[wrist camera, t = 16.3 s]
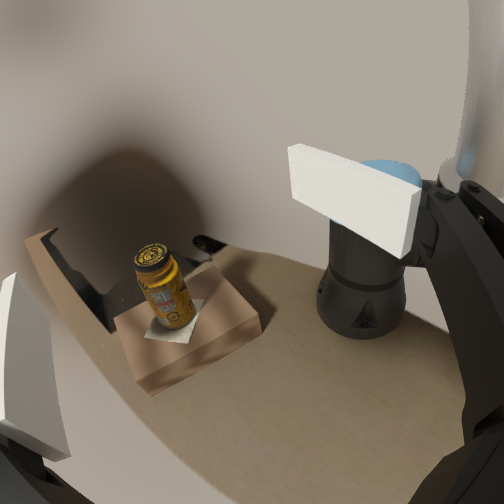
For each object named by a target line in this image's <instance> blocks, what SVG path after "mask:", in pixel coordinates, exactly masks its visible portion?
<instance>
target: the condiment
mask: <svg viewBox="0 0 504 504" xmlns="http://www.w3.org/2000/svg"><path fill="white" fill-rule="evenodd" d="M132 263H133V267H134V269H135V270H136V274H137V281H138V283H139V285H140V287H141V289H142V291H143V293H144V295H145V297H146V299H147V300H148V302H149V304H150V306H151V308H152V310H153V311H154V313H155V316H154V318H153V319H152V322H151V324H150V326H149V328H148V330H147V332H146V334H145V336H144V337H145V338H150V339H156V340H162V341H168V342H177V343H187V344H188V342H189V339H190V336H191V333H192V331H193V328H194V325H195V323H196V320H197V318H198V315H199V312H200V309H201V306H202V304H203V300H204V299H191V296H190V294H189V292H188V289H187V287H186V284H185V282H184V279H183V277H182V274H181V272H180V269H179V267H178V264H177V263H176V261H175V260H173V258H172V256H171V254H170V251H169V249H168V248H167V246H165V245H163V244H152V245H148V246H146V247H144V248H143V249H141V250H140V251H139V252H138V253H137V254H135V256H134V258H133V261H132ZM181 329H182V330H181ZM178 331H179V332H178Z"/></svg>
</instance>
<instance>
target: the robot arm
mask: <svg viewBox="0 0 504 504" xmlns="http://www.w3.org/2000/svg"><path fill="white" fill-rule="evenodd" d="M468 1H469V2H468V3H469V60H468V75H467V85H466V94H465V101H464V109H463V116H462V121H461V128H460V133H459V138H458V143H457V148H456V152H455V157H453V158H450V159H447V160H446V161H444V162H443V164H442V165H441V167H440V170H439V174H438V178H437V181H432V180H422V179H421V177H420V174H419V173H418V171H417V170H416V169H414V168H413V167H412V166H410V165H407V164H405V163H398V162H397V161H391V160H371V161H364V162H360V163H357V162H355V161H352V160H349V159H346V158H343V157H340V156H338V155H335V154H332V153H329V152H325V151H322V150H319V149H316V148H313V147H309V146H307V145H303V144H297V145H293V146H290V147H288V157H289V167H290V176H291V186H292V197H293V198H294V199H296V200H298V201H300V202H301V203H303V204H305V205H307V206H309V207H311V208H313V209H314V210H317V211H318V212H320V213H322V214H324V215H326V216H327V217H329V218H330V235H329V236H330V237H329V264H328V267H327V269H326V271H325V273H324V275H323V277H322V279H321V281H320V283H319V286H318V290H317V310H318V313H319V315H320V317H321V319H322V320H323V322H324V323H325V324H326V325H327V326H328V327H329V328H330V329H332V330H333V331H335V332H336V333H338V334H340V335H342V336H345V337H348V338H353V339H373V338H377V337H380V336H383V335H385V334H387V333H388V332H390V331H391V330H393V329H394V328H395V327H396V326H397V324H398V323H399V321H400V320H401V318H402V315H403V312H404V309H405V304H406V294H405V285H404V277H403V274H404V270H405V267H406V266H410V267H422V268H423V267H424V268H426V269H427V272H428V274H429V277H430V279H431V282H432V284H433V287H434V290H435V292H436V295H437V297H438V300H439V303H440V306H441V309H442V311H443V314H444V317H445V320H446V323H447V326H448V329H449V333H450V336H451V339H452V342H453V346H454V349H455V353H456V356H457V360H458V364H459V368H460V372H461V376H462V380H463V384H464V389H465V393H466V402H465V405H464V408H463V411H462V428H463V435H464V443H465V445H464V446H462V447H461V448H459V449H458V450H456V451H454V452H453V453H451V454H449V455H447V456H445V457H443V459H442V460H441V461H440V462H439V463H438V464H437V466H436V467H435V468H434V469H433V470H432V471H431V472H430V474H429V475H428V476H427V477H426V478H425V479H424V480H423V481H422V483H421V484H420V486H419V488H418V489H417V491H416V492H415V494H414V495H413V497H412V499H411V500H410V502H409V503H408V504H504V0H468ZM42 457H44V458H46V459H48V460H51V461H53V462H57V461H60V460H63V459H65V458H68V457H71V455H70V451H69V447H68V443H67V439H66V435H65V431H64V427H63V422H62V417H61V412H60V407H59V401H58V396H57V389H56V382H55V375H54V366H53V357H52V345H51V329H50V318H49V317H48V315H47V314H46V313H45V312H44V310H43V309H42V308H41V306H40V305H39V304H38V302H37V301H36V300H35V298H34V297H33V296H32V294H31V293H30V292H29V290H28V289H27V287H26V286H25V285H24V283H23V282H22V280H21V279H20V277H19V276H18V274H17V273H16V272H15V273H14V274H12V275H10V276H9V277H7V278H6V279H4V280H3V284H2V288H1V292H0V504H94V503H93V502H91V501H90V500H89V499H87V498H86V497H85V496H83V495H82V494H81V493H79V492H78V491H77V490H75V489H74V488H73V487H71V486H70V485H69V484H68V483H67V482H65V481H64V480H63V479H62V478H60V477H59V476H58V475H57V474H56V473H55V472H54V471H52V470H51V469H49V468H48V467H46V466H44V463H43V459H42Z"/></svg>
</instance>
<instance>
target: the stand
mask: <svg viewBox="0 0 504 504" xmlns="http://www.w3.org/2000/svg"><path fill="white" fill-rule="evenodd" d="M184 282H185V284H186V287H187V289H188V292H189V294H190V296H191V299H204V300H203V304H202V306H201V309H200V312H199V315H198V318H197V320H196V323H195V325H194V328H193V331H192V333H191V336H190V339H189V342H188V344H187V343H177V342H168V341H162V340H156V339H150V338H145V337H144V336H145V334H146V332H147V330H148V328H149V326H150V324H151V322H152V319H153V318H154V316H155V313H154V311H153V310H152V308H151V306H150V304H149V302H148V300H147V301H145V302H143V303H141V304H140V305H138V306H136V307H134V308H132V309H130V310H128V311H126V312H124V313H122V314H120V315H119V316H117V317H115V318H114V321H115V324H116V328H117V331H118V334H119V337H120V340H121V343H122V346H123V349H124V351H125V354H126V357H127V360H128V362H129V365H130V368H131V370H132V373H133V375H134V378H135V380H136V382H137V383H138V384H139V385H140V386H141V387H142V388H143V389H144V390H145V391H146V392H147V393H148V394H149V395H150V396H153V395H155V394H157V393H159V392H161V391H163V390H165V389H166V388H168V387H170V386H172V385H174V384H176V383H178V382H180V381H182V380H183V379H185V378H187V377H189V376H191V375H193V374H194V373H196V372H198V371H200V370H202V369H203V368H205V367H207V366H209V365H210V364H212V363H214V362H216V361H217V360H219V359H221V358H223V357H224V356H226V355H228V354H229V353H231V352H233V351H234V350H236V349H238V348H239V347H241V346H243V345H244V344H246V343H248V342H249V341H251V340H253V339H254V338H256V337H258V336H259V335H261V334H262V329H261V324H260V320H259V315H258V313H257V312H256V311H255V310H254V308H253V307H252V306H251V305H250V304H249V303H248V302H247V301H246V300H245V299H244V298H243V297H242V296H241V295H240V294H239V292H238V291H237V290H236V289H235V288H234V287H233V286H232V285H231V284H230V283H229V282H228V281H227V280H226V278H225V277H224V276H223V275H222V274H221V273H220V272H219V271H218V270H217V269H216V268H215V266H213V267H211V268H209V269H207V270H205V271H203V272H201V273H199V274H197V275H195V276H193V277H191V278H190V279H188V280H186V281H184ZM181 330H182V329H181ZM178 332H179V331H178Z"/></svg>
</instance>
